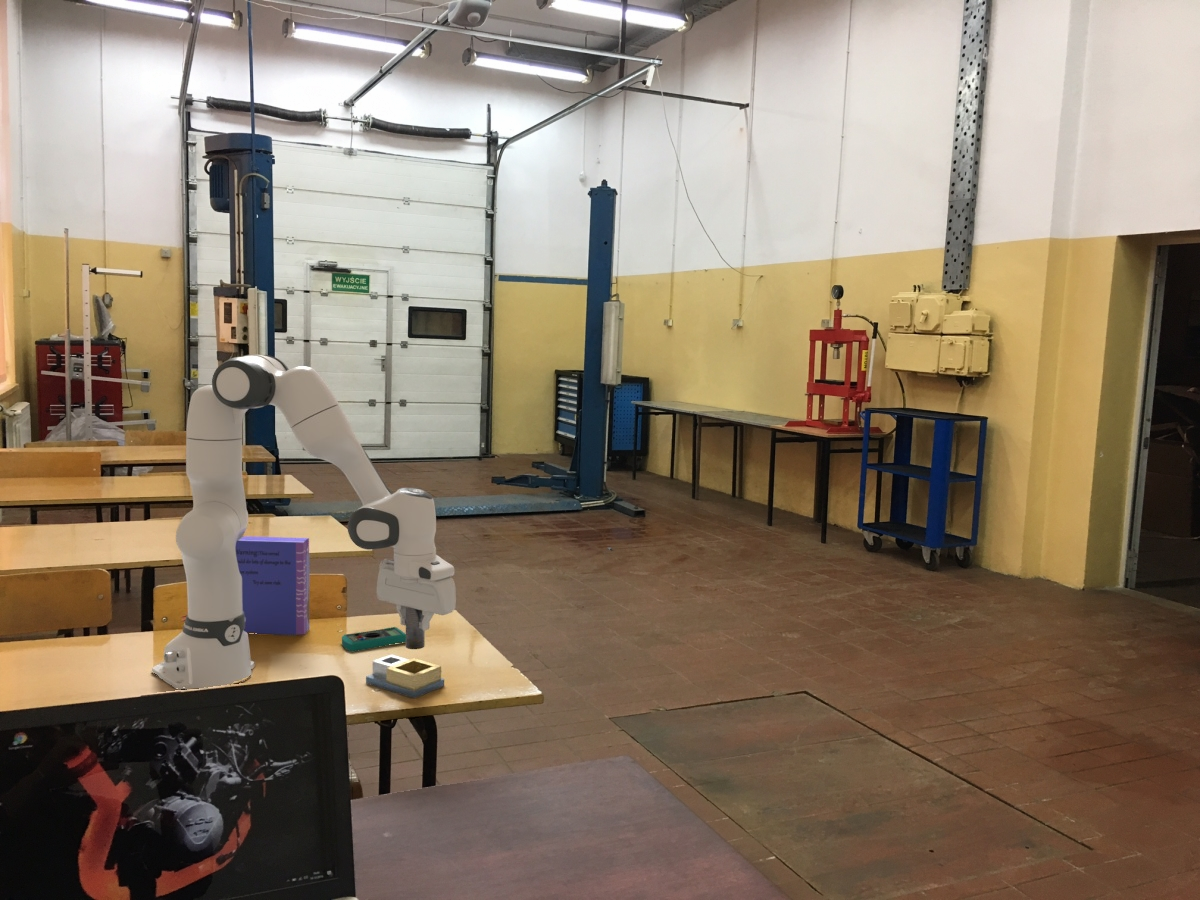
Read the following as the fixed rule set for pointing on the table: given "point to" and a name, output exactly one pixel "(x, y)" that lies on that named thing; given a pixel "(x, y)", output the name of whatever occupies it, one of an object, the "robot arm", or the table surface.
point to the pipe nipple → (414, 629)
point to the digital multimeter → (373, 639)
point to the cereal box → (274, 584)
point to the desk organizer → (405, 676)
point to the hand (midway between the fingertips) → (414, 627)
